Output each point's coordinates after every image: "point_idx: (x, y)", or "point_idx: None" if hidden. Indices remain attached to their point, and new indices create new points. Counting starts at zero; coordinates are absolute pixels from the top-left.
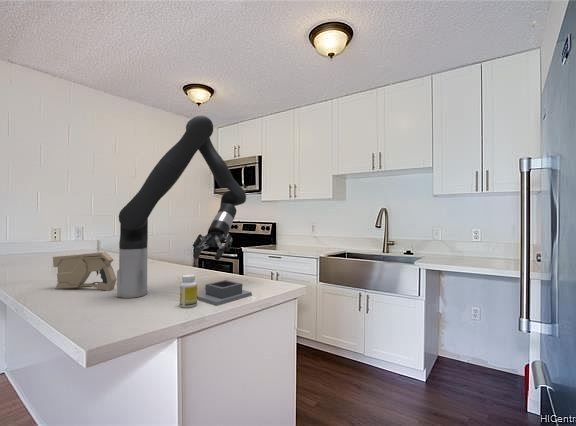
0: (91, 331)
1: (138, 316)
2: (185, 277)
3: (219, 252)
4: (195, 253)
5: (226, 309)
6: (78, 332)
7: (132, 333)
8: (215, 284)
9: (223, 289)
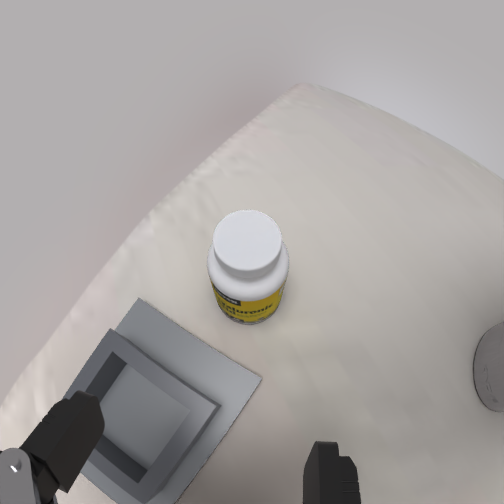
0: (362, 120)
1: (342, 186)
2: (249, 210)
3: (45, 432)
4: (328, 463)
5: (105, 269)
6: (378, 118)
7: (279, 115)
8: (173, 436)
9: (107, 335)
